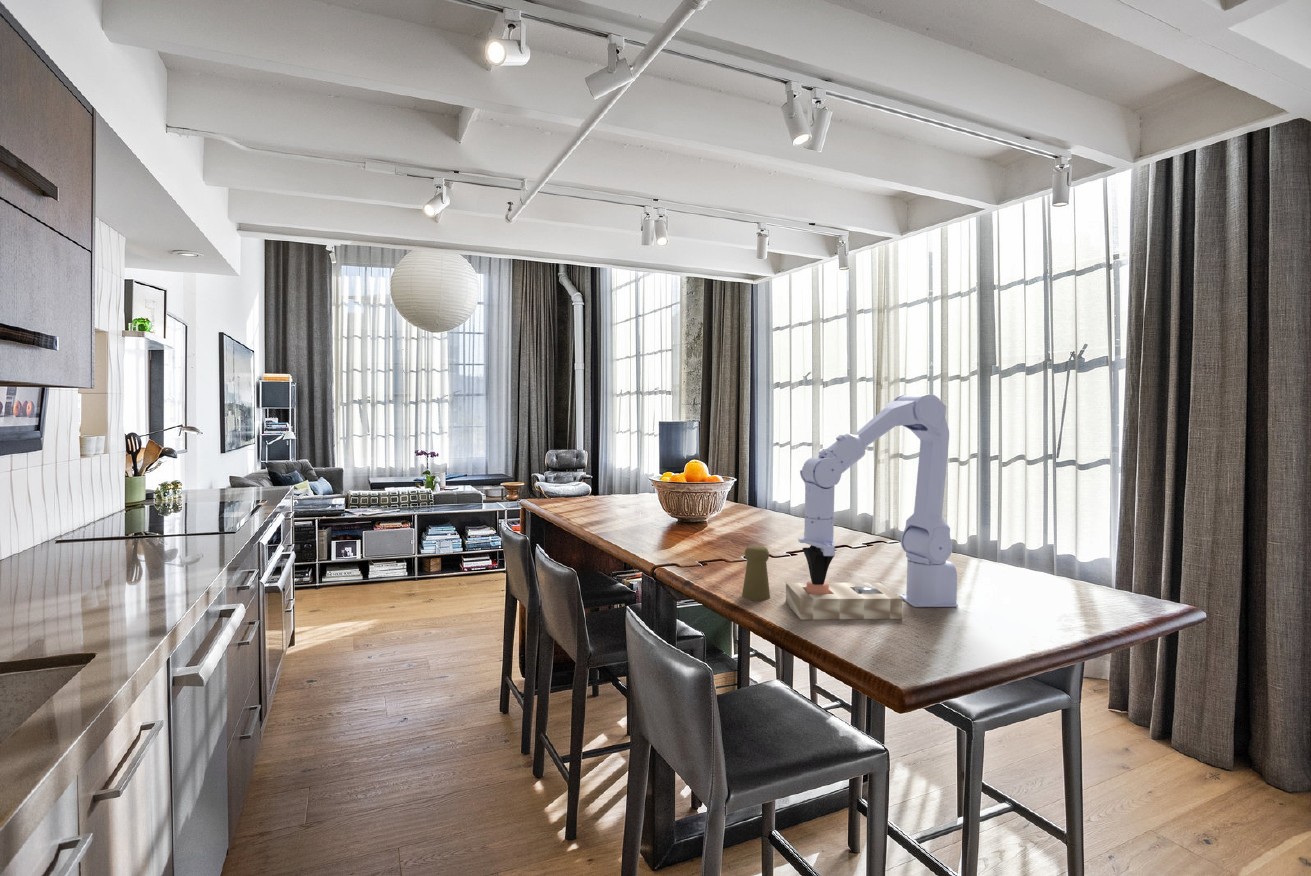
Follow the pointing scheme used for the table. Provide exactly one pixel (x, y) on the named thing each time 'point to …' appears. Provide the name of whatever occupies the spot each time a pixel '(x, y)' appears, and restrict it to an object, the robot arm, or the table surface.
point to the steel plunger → (866, 589)
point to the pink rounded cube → (817, 588)
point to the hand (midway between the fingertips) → (817, 583)
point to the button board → (844, 602)
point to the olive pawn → (756, 573)
